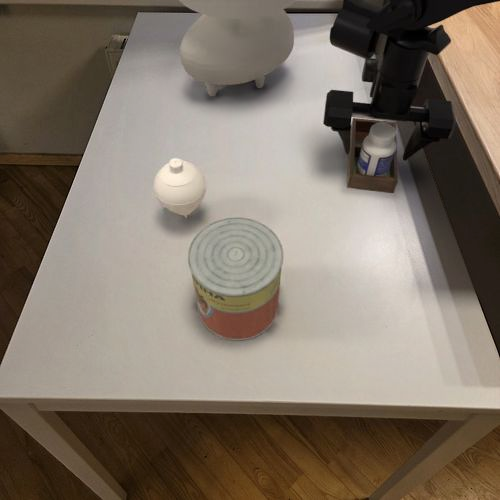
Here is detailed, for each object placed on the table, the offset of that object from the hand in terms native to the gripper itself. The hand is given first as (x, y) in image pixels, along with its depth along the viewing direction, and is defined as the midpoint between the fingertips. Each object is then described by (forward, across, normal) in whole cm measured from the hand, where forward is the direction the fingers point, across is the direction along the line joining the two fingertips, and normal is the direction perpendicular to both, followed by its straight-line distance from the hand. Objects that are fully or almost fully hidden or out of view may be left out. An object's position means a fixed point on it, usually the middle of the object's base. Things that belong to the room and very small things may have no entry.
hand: (375, 155), depth 74 cm
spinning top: (+4, +29, +14) cm, 33 cm away
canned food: (+4, +18, +28) cm, 34 cm away
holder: (+4, 0, -4) cm, 5 cm away
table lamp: (+4, +27, -22) cm, 35 cm away
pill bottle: (+4, 0, 0) cm, 4 cm away
